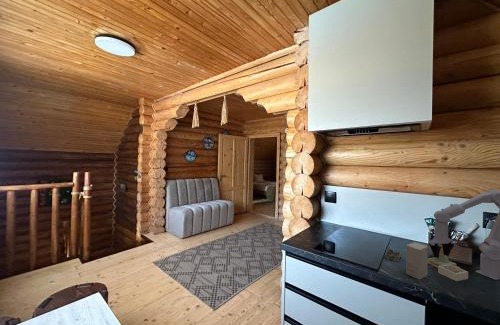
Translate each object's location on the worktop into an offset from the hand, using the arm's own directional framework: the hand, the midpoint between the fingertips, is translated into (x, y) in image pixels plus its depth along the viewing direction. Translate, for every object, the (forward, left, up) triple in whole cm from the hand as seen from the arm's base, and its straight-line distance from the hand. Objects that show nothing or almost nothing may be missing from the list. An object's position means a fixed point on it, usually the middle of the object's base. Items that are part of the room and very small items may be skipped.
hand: (441, 256), depth 119 cm
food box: (+7, +10, -5) cm, 13 cm away
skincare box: (+24, +5, -5) cm, 25 cm away
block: (+7, +10, -5) cm, 13 cm away
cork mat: (0, 0, -5) cm, 5 cm away
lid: (0, 0, -3) cm, 4 cm away
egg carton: (+18, -14, -5) cm, 23 cm away
